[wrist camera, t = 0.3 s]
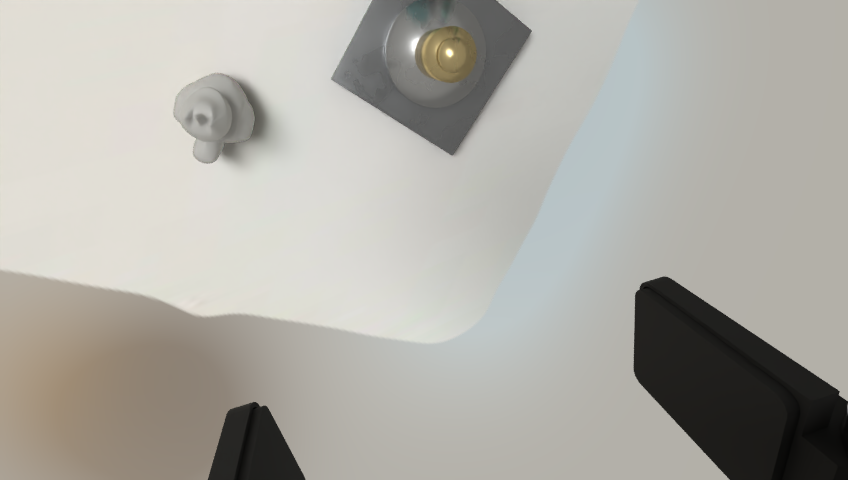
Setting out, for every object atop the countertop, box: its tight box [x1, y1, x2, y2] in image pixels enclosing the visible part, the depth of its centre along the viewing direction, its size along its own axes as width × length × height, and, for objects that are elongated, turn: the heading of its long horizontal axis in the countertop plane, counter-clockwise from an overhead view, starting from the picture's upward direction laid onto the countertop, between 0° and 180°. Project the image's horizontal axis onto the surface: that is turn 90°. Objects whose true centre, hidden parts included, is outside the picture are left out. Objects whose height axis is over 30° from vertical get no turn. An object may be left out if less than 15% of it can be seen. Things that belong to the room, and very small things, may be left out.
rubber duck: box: [173, 73, 255, 163], centre depth 30 cm, size 5×7×8 cm
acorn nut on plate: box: [331, 0, 531, 155], centre depth 31 cm, size 12×12×8 cm
